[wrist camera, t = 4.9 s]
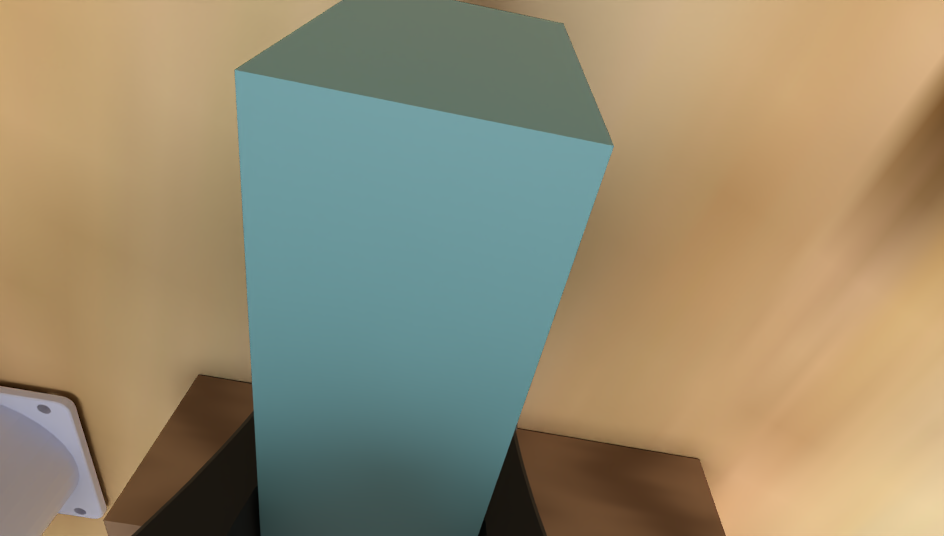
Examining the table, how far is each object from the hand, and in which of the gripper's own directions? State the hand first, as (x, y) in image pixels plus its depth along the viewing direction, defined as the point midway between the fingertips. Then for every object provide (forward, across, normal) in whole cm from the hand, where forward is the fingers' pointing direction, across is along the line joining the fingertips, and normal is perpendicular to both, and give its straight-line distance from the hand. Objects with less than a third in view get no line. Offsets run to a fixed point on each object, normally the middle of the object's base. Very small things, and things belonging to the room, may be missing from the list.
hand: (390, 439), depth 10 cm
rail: (+3, 0, 0) cm, 3 cm away
